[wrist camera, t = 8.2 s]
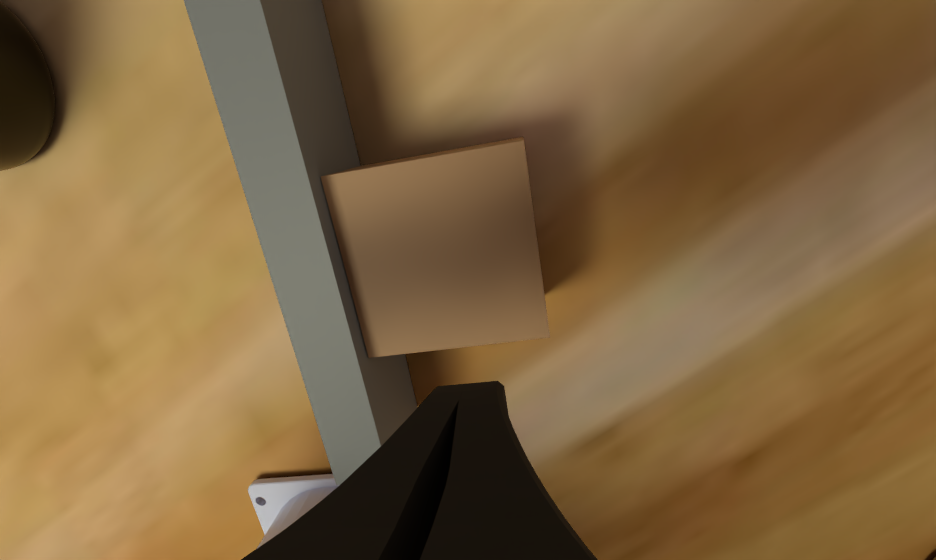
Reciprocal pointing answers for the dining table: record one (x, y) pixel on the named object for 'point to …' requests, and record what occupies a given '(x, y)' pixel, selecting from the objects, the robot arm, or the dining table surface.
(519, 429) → the dining table surface
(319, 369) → the backboard
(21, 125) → the supplement bottle
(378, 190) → the walnut block
